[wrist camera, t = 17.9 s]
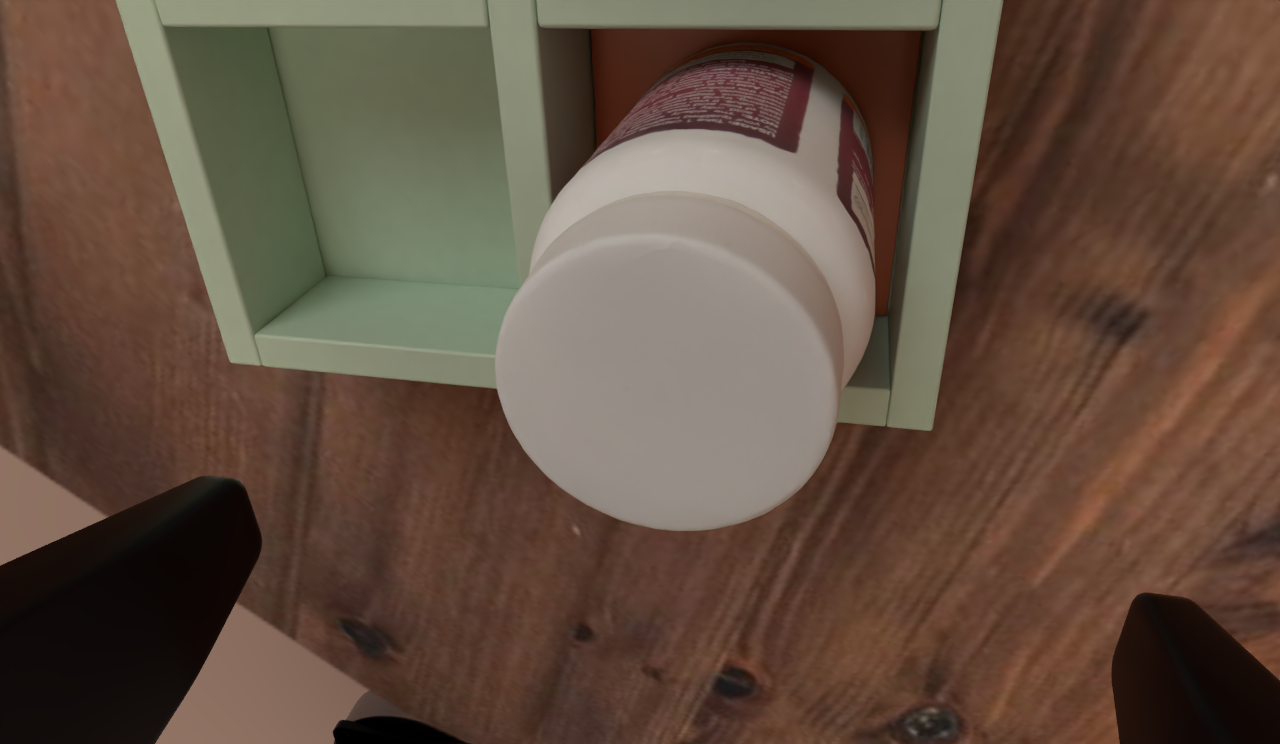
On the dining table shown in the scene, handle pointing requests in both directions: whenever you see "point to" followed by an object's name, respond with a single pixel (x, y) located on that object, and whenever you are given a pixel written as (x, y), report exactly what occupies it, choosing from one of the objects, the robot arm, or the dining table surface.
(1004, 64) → the dining table surface
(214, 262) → the divided tray
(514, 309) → the pill bottle
